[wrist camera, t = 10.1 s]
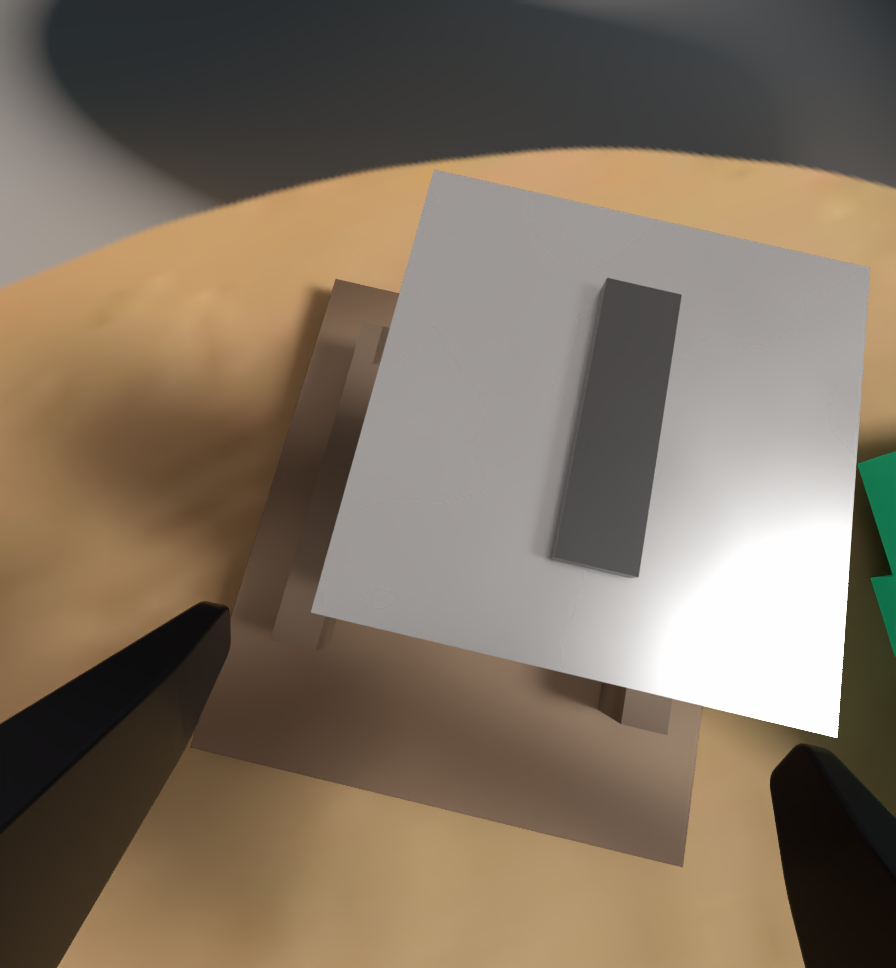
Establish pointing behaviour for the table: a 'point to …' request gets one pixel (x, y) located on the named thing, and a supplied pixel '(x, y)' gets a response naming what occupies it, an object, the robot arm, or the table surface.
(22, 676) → the table surface
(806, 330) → the block
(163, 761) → the robot arm
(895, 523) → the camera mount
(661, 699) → the cradle
